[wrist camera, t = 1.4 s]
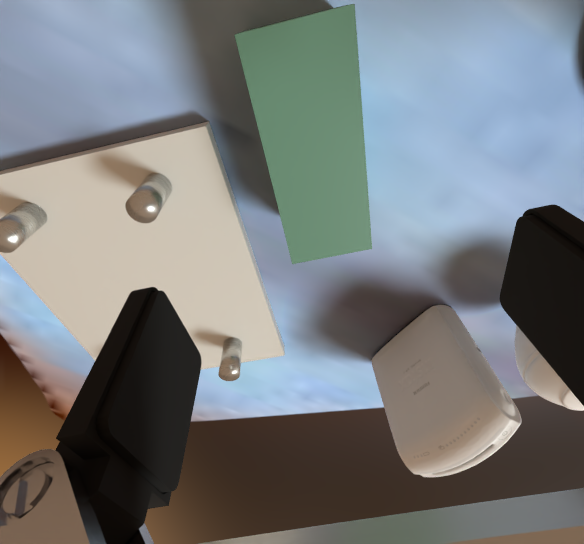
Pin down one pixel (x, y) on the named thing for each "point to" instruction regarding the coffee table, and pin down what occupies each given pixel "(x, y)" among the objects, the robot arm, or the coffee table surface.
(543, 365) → the spinning top
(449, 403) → the photo printer
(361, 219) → the board block
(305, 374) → the coffee table surface
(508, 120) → the coffee table surface
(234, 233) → the standoff plate
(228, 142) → the coffee table surface
